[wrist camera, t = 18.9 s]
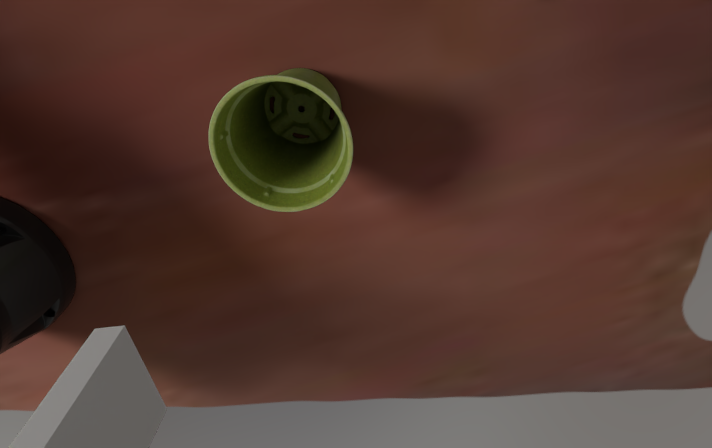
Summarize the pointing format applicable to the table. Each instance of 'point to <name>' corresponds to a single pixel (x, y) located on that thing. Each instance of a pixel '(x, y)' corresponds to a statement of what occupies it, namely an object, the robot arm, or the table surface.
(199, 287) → the table surface
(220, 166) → the plant pot
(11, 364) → the table surface
